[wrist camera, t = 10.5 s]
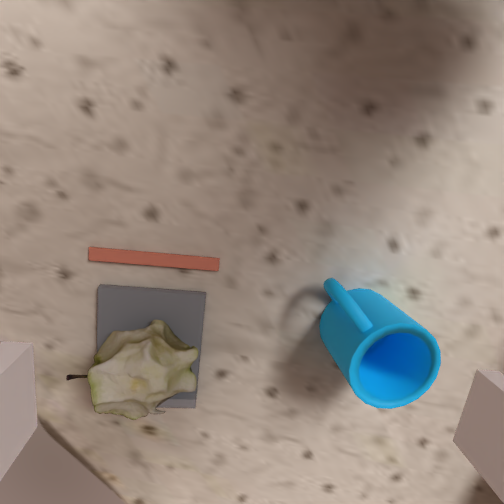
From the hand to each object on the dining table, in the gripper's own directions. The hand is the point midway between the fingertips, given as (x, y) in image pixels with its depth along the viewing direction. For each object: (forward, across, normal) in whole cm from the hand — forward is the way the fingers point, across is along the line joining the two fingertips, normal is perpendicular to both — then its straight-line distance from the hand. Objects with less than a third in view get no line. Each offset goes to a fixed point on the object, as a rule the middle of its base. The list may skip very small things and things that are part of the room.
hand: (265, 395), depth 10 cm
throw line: (+23, -7, -3) cm, 24 cm away
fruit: (+22, -7, -13) cm, 26 cm away
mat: (+23, -7, -12) cm, 27 cm away
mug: (+24, +13, -8) cm, 28 cm away
